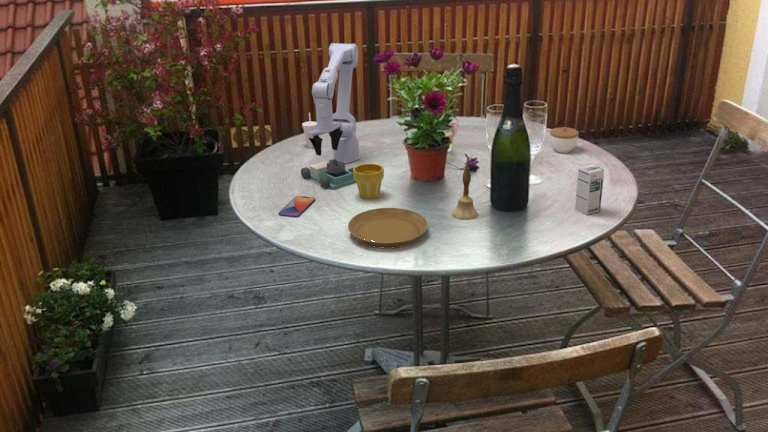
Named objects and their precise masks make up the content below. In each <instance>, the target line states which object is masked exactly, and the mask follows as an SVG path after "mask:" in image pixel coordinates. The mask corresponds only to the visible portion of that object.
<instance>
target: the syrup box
mask: <svg viewBox="0 0 768 432" xmlns="http://www.w3.org/2000/svg"><path fill="white" fill-rule="evenodd" d="M604 174H605V169H604V168H602V167H600V166H598V165H595V164H589V165H585V166H581V167H578V168H577V178H576V179H577V180H576V191H575V204H574V209H575V210H577V211H578V212H580V213H582V214H584V215H586V216H587V215H591V214H594V213H599V212H601V209H602V208H601V207H602V197H603V196H602V195H603V189H604V188H603V185H604V176H605V175H604Z"/></svg>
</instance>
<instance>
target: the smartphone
mask: <svg viewBox="0 0 768 432" xmlns="http://www.w3.org/2000/svg"><path fill="white" fill-rule="evenodd" d="M315 202H316V198H315V197H312V196H303V195H297V196H295V197H293V198H292V200H291V201H289V202H288V203H287V204H286V205H285V206H284V207H283V208H282V209H281V210H280V211H279V212H278V213H277V214H278V216H280V217H288V218H299V217H300V216H302V215H303V214H304V213H305V212H306V211H307V210H308V209H309V208H310V207H311V206H312V205H313V204H314V203H315Z"/></svg>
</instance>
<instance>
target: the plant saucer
mask: <svg viewBox="0 0 768 432" xmlns="http://www.w3.org/2000/svg"><path fill="white" fill-rule="evenodd" d="M347 224H348V225H347V229H348V231H349V233H350V234H351V236H352V237H353V238H354V239H355V240H357V241H358V242H360V243H362V244H365V245H367V246H369V245H370V247H373V246H375V247H374V248H379V247H384V248H383V249H386V248H387V249H393V248H392V247H394V248H401V247H404V245H405V246H408V245H411V244H412V243H414V242H416V241H417V240H419V239H421V237H423V235H425V233H426V231H427V228H428V225H429V224H428V221H427V219H426V217H424V216H423V215H421V214H420V213H418V212H416V211H413V210H409V209H406V208H400V207H381V208H379V207H378V208H373V209H369V210H365V211H361V212H359V213H357V214H356V215H355V216H353V217H352V218H351V219H350V220H349V221H348V223H347ZM364 239H365V240H364ZM371 240H373V241H375V242H372V241H371ZM400 246H401V247H400Z"/></svg>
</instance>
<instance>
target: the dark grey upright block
mask: <svg viewBox="0 0 768 432" xmlns="http://www.w3.org/2000/svg"><path fill="white" fill-rule="evenodd" d="M345 169H346V163H345V162H340V161H335V160H333V161H331V162H329V161H328V163H327V174H329V175H331V176H333V177H335V178H336V177H339V176H343V175H345Z"/></svg>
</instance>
